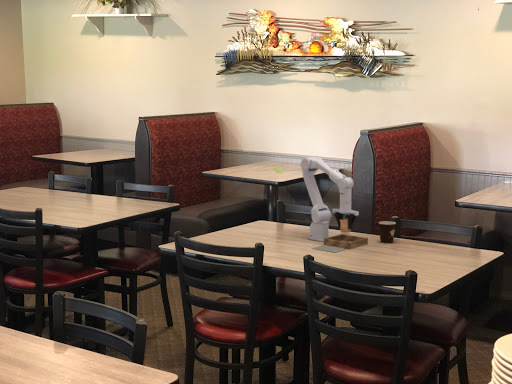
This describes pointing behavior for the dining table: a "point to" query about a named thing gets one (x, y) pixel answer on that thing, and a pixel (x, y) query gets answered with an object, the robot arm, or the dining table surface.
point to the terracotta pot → (344, 225)
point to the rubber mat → (329, 249)
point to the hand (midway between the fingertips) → (345, 228)
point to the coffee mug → (387, 231)
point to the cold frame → (337, 239)
